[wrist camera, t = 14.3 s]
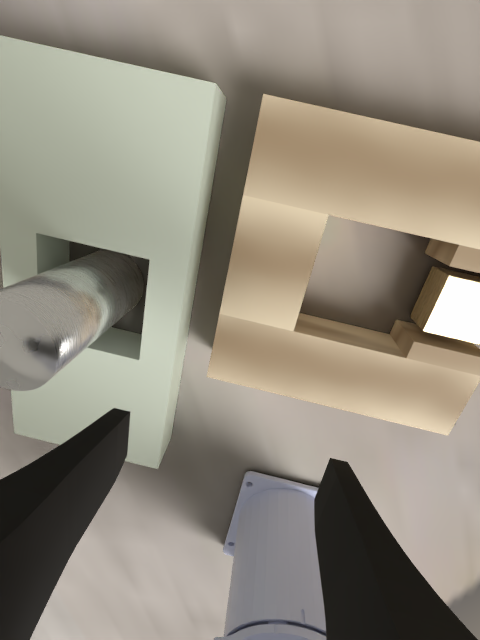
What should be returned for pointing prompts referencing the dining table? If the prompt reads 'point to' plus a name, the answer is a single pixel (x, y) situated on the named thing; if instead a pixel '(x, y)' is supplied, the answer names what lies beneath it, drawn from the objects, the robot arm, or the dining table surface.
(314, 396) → the socket block
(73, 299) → the steel peg
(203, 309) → the dining table surface
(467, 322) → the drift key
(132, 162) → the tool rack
